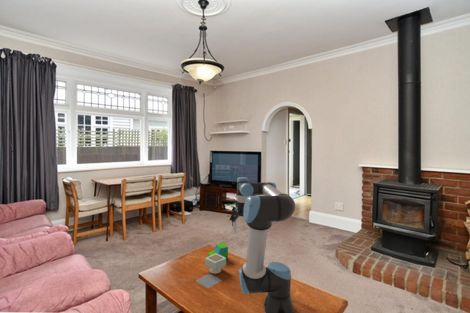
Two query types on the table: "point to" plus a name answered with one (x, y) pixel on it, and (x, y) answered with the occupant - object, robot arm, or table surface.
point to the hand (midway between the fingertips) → (242, 233)
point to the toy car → (220, 250)
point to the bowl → (215, 270)
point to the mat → (208, 280)
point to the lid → (215, 261)
